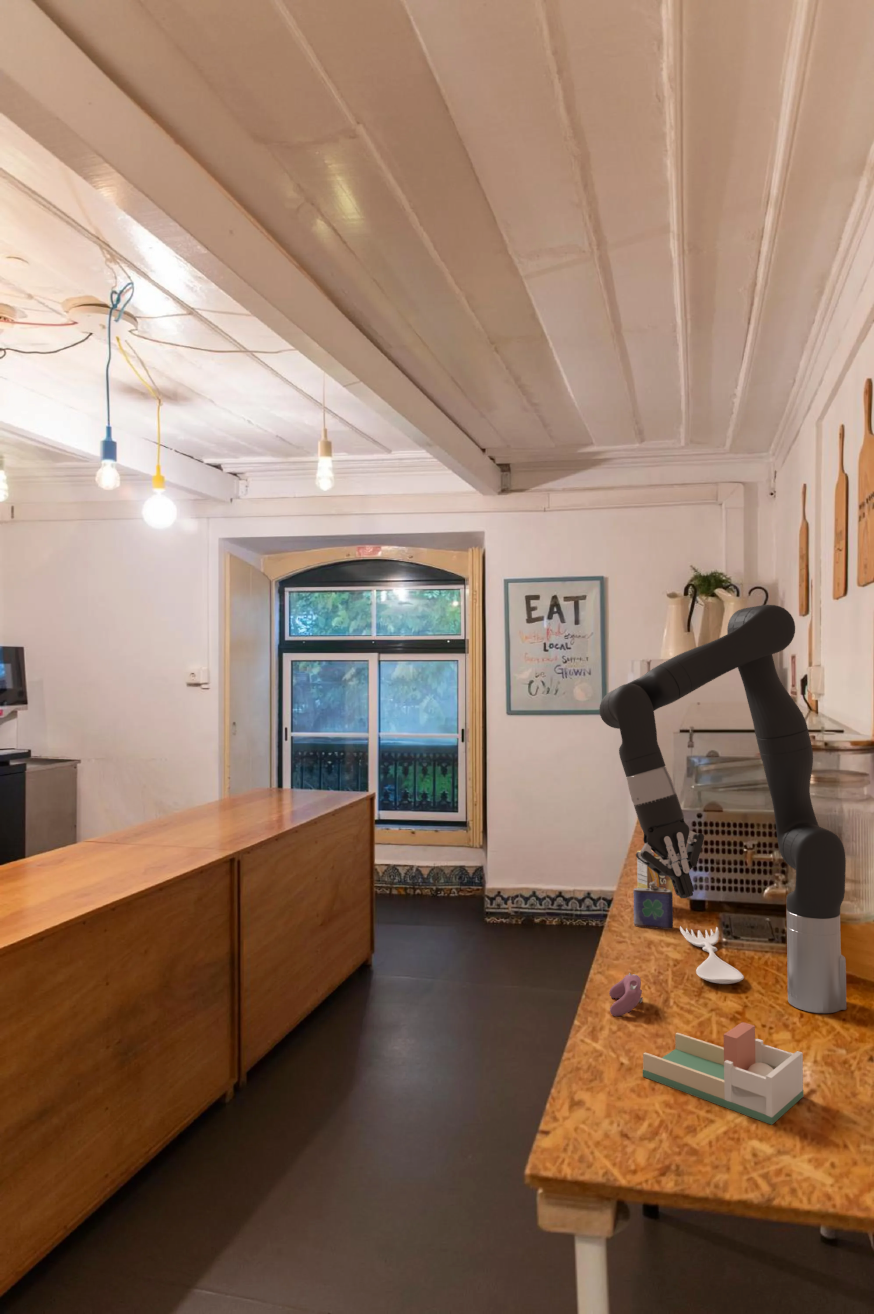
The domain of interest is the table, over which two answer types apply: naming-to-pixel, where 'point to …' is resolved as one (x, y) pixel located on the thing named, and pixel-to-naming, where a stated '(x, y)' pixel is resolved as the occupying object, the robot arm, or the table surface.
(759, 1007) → the table surface
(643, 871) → the candy box
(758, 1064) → the ball
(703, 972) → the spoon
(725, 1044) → the block
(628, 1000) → the video game controller
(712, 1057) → the pitch
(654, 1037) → the table surface
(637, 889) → the flask
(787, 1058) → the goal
